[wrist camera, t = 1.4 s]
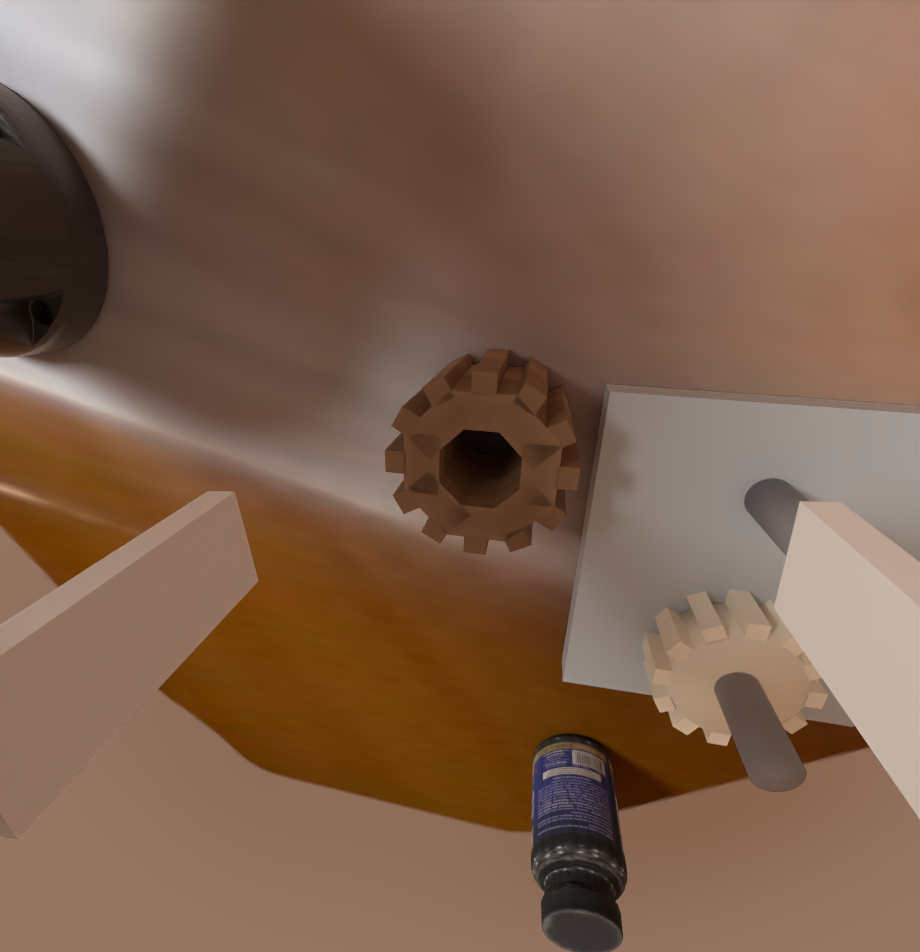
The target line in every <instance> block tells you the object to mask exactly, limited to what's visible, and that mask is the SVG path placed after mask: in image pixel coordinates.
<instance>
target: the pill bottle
mask: <svg viewBox="0 0 920 952" xmlns="http://www.w3.org/2000/svg"><path fill="white" fill-rule="evenodd" d="M531 868H532V872H533V875H534V878H535V880H536V882H537V884H538V885H539V886H540V888H541V889H542V890H543V891H544V892H545V894H544V896H543V898H542V901H541V908H542V909H541V911H542V912H541V913H542V929H543V932H544V934H545V935H546V936H547V938H548V939H549V940H550V941H552V942H553V943H554V944H556V945H558V946H559V947H561V948H564V949H566V950H569V951H572V952H610V951H613V950H615V949H616V948H618V947H619V945H620V944H621V942H622V939H623V932H622V922H621V913H620V911H619V907H618V904H617V903H616V902H615V901H616V900H617V899H618V898H619V897H620V896H621V894H622V893H623V891H624V890H625V886H626V882H627V871H626V870H627V869H626V862H625V856H624V850H623V842H622V834H621V828H620V820H619V813H618V806H617V799H616V791H615V784H614V777H613V770H612V764H611V761H610V759H609V757H608V755H607V754H606V752H605V751H604V750H603V749H602V748H601V747H600V746H599V745H597V744H596V743H594V742H592V741H590V740H588V739H586V738H584V737H579V736H575V735H558V736H555V737H552V738H548V739H547V740H545V741H543V742H542V743H541V744H540V745H539V746H538V748H536V751H535V754H534V756H533V783H532V838H531Z"/></svg>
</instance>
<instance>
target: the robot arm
mask: <svg viewBox="0 0 920 952" xmlns="http://www.w3.org/2000/svg"><path fill="white" fill-rule="evenodd" d="M106 279H107V257H106V247H105V240H104V235H103V230H102V225H101V222H100V218H99V215H98V211H97V208H96V205H95V203H94V200H93V197H92V195H91V192H90V190H89V188H88V185H87V183H86V181H85V179H84V177H83V175H82V173H81V171H80V169H79V168H78V166H77V164H76V162H75V161H74V159H73V157H72V156H71V154H70V153H69V151H68V149H67V148H66V147H65V145H64V144H63V142H62V141H61V139H60V138H59V137H58V136H57V134H56V133H55V132H54V131H53V129H52V128H51V127H50V126H49V125H48V124H47V122H46V121H45V120H44V119H43V118H42V117H41V116H40V115H39V114H38V113H37V112H36V111H35V110H34V109H33V108H32V107H31V106H30V105H29V104H28V103H26V102H25V101H24V100H23V99H22V98H20V97H19V96H18V95H17V94H15V93H14V92H12V91H11V90H10V89H8V88H7V87H5V86H3V85H2V84H0V357H20V356H27V355H33V354H40V353H47V352H53V351H57V350H60V349H63V348H65V347H67V346H69V345H71V344H73V343H74V342H76V341H77V340H78V339H80V338H81V337H82V336H83V335H84V334H85V333H86V332H87V331H88V329H89V328H90V327H91V325H92V324H93V322H94V320H95V319H96V317H97V315H98V313H99V310H100V307H101V305H102V301H103V298H104V293H105V288H106ZM257 582H258V578H257V574H256V570H255V567H254V563H253V559H252V555H251V552H250V548H249V544H248V540H247V536H246V533H245V529H244V525H243V521H242V518H241V514H240V510H239V506H238V502H237V499H236V495H235V492H232V491H207V492H206V493H204V494H203V495H201V496H200V497H198V498H197V499H195V500H193V501H192V502H190V503H189V504H187V505H186V506H184V507H183V508H181V509H179V510H178V511H176V512H175V513H173V514H172V515H170V516H169V517H167V518H165V519H164V520H162V521H161V522H159V523H158V524H156V525H155V526H153V527H151V528H150V529H148V530H147V531H145V532H144V533H142V534H141V535H139V536H137V537H136V538H134V539H133V540H131V541H130V542H128V543H127V544H125V545H123V546H122V547H120V548H119V549H117V550H116V551H114V552H113V553H111V554H109V555H108V556H106V557H105V558H103V559H102V560H100V561H99V562H97V563H95V564H94V565H92V566H91V567H89V568H88V569H86V570H85V571H83V572H81V573H80V574H78V575H77V576H75V577H74V578H72V579H71V580H69V581H67V582H66V583H64V584H63V585H61V586H60V587H58V588H57V589H55V590H53V591H52V592H50V593H49V594H47V595H46V596H44V597H43V598H41V599H39V600H38V601H36V602H35V603H33V604H32V605H30V606H29V607H27V608H26V609H24V610H22V611H21V612H19V613H18V614H16V615H15V616H13V617H11V618H10V619H8V620H7V621H5V622H4V623H2V624H1V625H0V836H2V837H8V838H14V839H18V838H19V837H20V836H21V835H22V834H23V833H24V832H25V831H26V830H27V829H28V828H29V826H30V825H31V824H32V823H33V822H34V821H35V820H36V819H37V818H38V817H39V816H40V815H41V813H42V812H43V811H44V810H45V809H46V808H47V807H48V806H49V805H50V804H51V803H52V802H53V801H54V800H55V799H56V797H57V796H58V795H59V794H60V793H61V792H62V791H63V790H64V789H65V788H66V787H67V786H68V785H69V784H70V783H71V781H72V780H73V779H74V778H75V777H76V776H77V775H78V774H79V773H80V772H81V771H82V770H83V769H84V767H85V766H86V765H87V764H88V763H89V762H90V761H91V760H92V759H93V758H94V757H95V755H97V754H98V753H99V751H100V750H101V749H102V748H103V747H104V746H105V745H106V744H107V743H108V742H109V741H110V740H111V738H112V737H113V736H114V735H115V734H116V733H117V732H118V731H119V730H120V729H121V728H122V727H123V726H124V725H125V724H126V722H127V721H128V720H129V719H130V718H131V717H132V716H133V715H134V714H135V713H136V712H137V711H138V710H139V708H140V707H141V706H142V705H143V704H144V703H145V702H146V701H147V700H148V699H149V698H150V697H151V696H152V695H153V693H154V692H155V691H156V690H157V689H158V688H159V687H160V686H161V685H162V684H163V683H164V682H165V681H166V680H167V679H168V677H169V676H170V675H171V674H172V673H173V672H174V671H175V670H176V669H177V668H178V667H179V666H180V665H181V664H182V662H183V661H184V660H185V659H186V658H187V657H188V656H189V655H190V654H191V653H192V652H193V651H194V650H195V648H196V647H197V646H198V645H199V644H200V643H201V642H202V641H203V640H204V639H205V638H206V637H207V636H208V635H209V633H210V632H211V631H212V630H213V629H214V628H215V627H216V626H217V625H218V624H219V623H220V622H221V621H222V620H223V618H224V617H225V616H226V615H227V614H228V613H229V612H230V611H231V610H232V609H233V608H234V607H235V606H236V605H237V603H238V602H239V601H240V600H241V599H242V598H243V597H244V596H245V595H246V594H247V593H248V592H249V591H250V590H251V588H252V587H253V586H254V585H255V584H256V583H257ZM774 609H775V611H776V612H777V614H778V615H779V617H780V618H781V620H782V621H783V622H784V624H785V625H786V627H787V628H788V630H789V631H790V633H791V634H792V635H793V637H794V638H795V640H796V641H797V643H798V644H799V646H800V647H801V648H802V650H803V651H804V653H805V654H806V656H807V657H808V659H809V660H810V661H811V663H812V664H813V666H814V667H815V669H816V670H817V672H818V673H819V674H820V676H821V677H822V679H823V680H824V682H825V683H826V685H827V686H828V687H829V689H830V690H831V692H832V693H833V695H834V696H835V698H836V699H837V700H838V702H839V703H840V705H841V706H842V708H843V709H844V711H845V712H846V713H847V715H848V716H849V718H850V719H851V721H852V722H853V724H854V725H855V726H856V728H857V729H858V731H859V732H860V734H861V735H862V737H863V738H864V739H865V741H866V742H867V744H868V745H869V747H870V748H871V750H872V751H873V753H874V754H875V755H876V757H877V758H878V760H879V761H880V763H881V764H882V766H883V767H884V768H885V770H886V771H887V773H888V774H889V776H890V777H891V778H892V780H893V781H894V783H895V784H896V786H897V787H898V788H899V790H900V791H901V793H902V794H903V796H904V797H905V799H906V800H907V802H908V803H909V805H910V806H911V807H912V809H913V810H914V812H915V813H916V814H917V816H918V818H919V819H920V562H919V561H918V560H916V559H915V558H914V557H912V556H911V555H910V554H908V553H907V552H906V551H904V550H903V549H902V548H901V547H899V546H898V545H897V544H895V543H894V542H893V541H891V540H890V539H889V538H887V537H886V536H885V535H883V534H882V533H881V532H880V531H878V530H877V529H876V528H874V527H873V526H872V525H870V524H869V523H868V522H866V521H865V520H864V519H862V518H861V517H860V516H859V515H857V514H856V513H855V512H853V511H852V510H851V509H849V508H848V507H847V506H845V505H844V504H843V503H841V502H812V501H800V503H799V507H798V511H797V515H796V519H795V523H794V527H793V531H792V535H791V539H790V544H789V548H788V552H787V556H786V560H785V564H784V568H783V572H782V576H781V580H780V585H779V589H778V593H777V597H776V601H775V605H774Z"/></svg>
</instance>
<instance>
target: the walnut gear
mask: <svg viewBox="0 0 920 952" xmlns="http://www.w3.org/2000/svg"><path fill="white" fill-rule="evenodd" d="M509 351H510V350H501V349H489V351H488V352H487V353H486V354H485V356H484V357H483V358H482V360H481V361H480V362H479V363H478V364H473V362H472V360H471V358H470V356H469V354H466V355H464V356H462V357H460V358H458V359H456V360H455V361H453V362H451V363H450V364H449V365H448V366H447V367H445V368H444V369H443V370H442V371H441V372H440V373H439V374H438V375H436V376H435V377H434V378H433V379H432V380H431V381H430V382H429V383H427V384H426V385H425V386H424V387H423V388H422V390H420V391H419V392H418V393H417V394H416V395H415V396H414V397H413V398H412V399H410V400H409V401H408V402H407V403H406V404H405V405H404V406H403V407H402V408H401V410H400V412H399V414H398V415H397V417H396V419H395V420H394V422H393V424H392V426H393V427H394V428H396V429H397V430H399V431H400V432H402V433H401V434H400V435H399V436H398V437H397V438H396V439H395V440H394V441H393V442H392V443H391V444H390V446H389V447H388V448H387V449H386V450H385V462H386V472H394V473H404V480H403V482H402V483H401V485H400V486H399V487H398V489H397V490H396V492H395V493H394V495H393V496H394V498H395V500H396V501H397V503H398V505H399V506H400V508H401V510H402V511H403V513H404V514H405V513H407V512H410V511H412V510H415V509H417V508H419V507H420V508H421V509H422V510H423V511H424V512H425V513H426V514H427V515H428V517H429V518H428V520H427V522H426V524H425V526H424V528H423V530H422V532H423V533H424V534H426V535H427V536H429V537H430V538H432V539H434V540H435V541H437V542H438V543H441V541H442V540H443V539H444V537H445V536H446V535H447V534H448V535H456V536H464V552H467V553H475V554H484V555H486V550H487V546H488V541H489V539H490V540H499V541H505V543H506V544H507V546H508V548H509V550H510V552H512V551H515V550H518V549H521V548H524V547H526V546H529V545H531V540H532V523H533V522H534V521H538V522H539V523H541V524H542V525H544V526H546V527H547V528H549V529H550V530H553V529H554V528H555V527H556V526H557V524H558V523H559V522H560V521H561V520H562V519H563V518H564V516H565V515H566V504H565V492H564V490H572V491H577V488H578V482H579V475H580V463H579V458H578V452H577V447H576V442H577V441H576V436H575V430H574V425H573V420H572V414H571V409H570V403H569V401H568V399H567V396H566V394H565V392H564V390H563V388H562V386H560V387H558V388H555V389H553V390H551V391H549V392H548V385H547V368H546V367H544V366H543V365H541V364H540V363H539V362H537V361H536V360H534V359H533V358H530V360H529V361H528V363H527V364H526V366H525V367H511V366H508V364H509ZM464 429H466V430H477V431H489V432H499V433H500V434H501V435H502V436H503V437H504V438H505V439H506V441H507V442H508V443H509V444H510V445H511V446H512V447H513V448H514V451H513V452H512V453H511V454H509V455H508V456H507V457H505V458H504V457H494V456H483V455H479V454H478V453H477V452H476V451H475V449H474V448H473V447H472V446H471V445H470V444H469V443H468V442H467V441H466V440H465V439H464V437H463V430H464Z"/></svg>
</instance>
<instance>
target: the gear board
mask: <svg viewBox="0 0 920 952" xmlns="http://www.w3.org/2000/svg"><path fill="white" fill-rule="evenodd" d="M800 501H812V502H841V503H843V504H844V505H845V506H847V507H848V508H849V509H851V510H852V511H853V512H855V513H856V514H857V515H859V516H860V517H861V518H862V519H864V520H865V521H866V522H868V523H869V524H870V525H872V526H873V527H874V528H876V529H877V530H878V531H880V532H881V533H882V534H883V535H885V536H886V537H887V538H889V539H890V540H891V541H893V542H894V543H895V544H897V545H898V546H899V547H901V548H902V549H903V550H904V551H906V552H907V553H908V554H910V555H911V556H912V557H914V558H915V559H916V560H918V561H919V562H920V406H918V405H904V404H890V403H875V402H861V401H846V400H832V399H818V398H803V397H789V396H774V395H760V394H746V393H731V392H717V391H702V390H688V389H674V388H659V387H645V386H630V385H616V384H606V386H605V392H604V398H603V405H602V411H601V417H600V423H599V430H598V436H597V442H596V448H595V455H594V461H593V467H592V474H591V480H590V486H589V492H588V499H587V505H586V511H585V518H584V524H583V530H582V536H581V543H580V549H579V555H578V562H577V568H576V574H575V580H574V587H573V593H572V599H571V606H570V612H569V618H568V624H567V631H566V637H565V643H564V649H563V656H562V675H563V681H564V682H570V683H577V684H583V685H589V686H596V687H602V688H608V689H615V690H621V691H628V692H634V693H640V694H647V695H652V696H653V700H654V702H655V704H656V706H657V708H658V710H659V712H660V713H661V712H666V711H668V712H669V715H670V719H671V723H672V726H673V727H675V728H676V729H678V730H679V731H681V732H683V733H684V734H686V735H688V734H690V733H691V732H692V731H694V730H695V729H697V728H698V727H700V728H702V729H703V732H704V734H705V737H706V740H707V743H712V744H718V745H724V746H727V744H728V742H729V739H730V736H731V735H732V737H733V739H734V742H735V744H736V747H737V749H738V752H739V754H740V756H741V759H742V761H743V764H744V766H745V769H746V771H747V774H748V776H749V779H750V780H751V782H752V783H753V784H754V785H755V786H757V787H759V788H761V789H763V790H767V791H772V792H782V791H788V790H792V789H794V788H796V787H798V786H799V785H801V784H802V783H803V782H804V780H805V778H806V769H805V767H804V766H803V764H802V762H801V760H800V758H799V756H798V754H797V752H796V750H795V749H794V747H793V745H792V743H791V741H790V739H789V737H788V735H787V733H786V731H788V732H789V733H791V734H793V733H795V732H796V731H798V730H799V729H801V728H802V727H804V726H806V725H807V724H808V723H807V722H806V720H812V721H819V722H825V723H831V724H838V725H844V726H851V727H853V726H854V724H853V722H852V721H851V719H850V718H849V716H848V715H847V713H846V712H845V711H844V709H843V708H842V706H841V705H840V703H839V702H838V700H837V699H836V698H835V696H834V695H833V693H832V692H831V690H830V689H829V687H828V686H827V685H826V683H825V682H824V680H823V679H822V677H821V676H820V674H819V673H818V672H817V670H816V669H815V667H814V666H813V664H812V663H811V661H810V660H809V659H808V657H807V656H806V654H805V653H804V651H803V650H802V648H801V647H800V646H799V644H798V643H797V641H796V640H795V638H794V637H793V635H792V634H791V633H790V631H789V630H788V628H787V627H786V625H785V624H784V622H783V621H782V620H781V618H780V617H779V615H778V614H777V612H776V611H775V609H774V605H775V601H776V597H777V593H778V589H779V585H780V580H781V576H782V572H783V568H784V564H785V560H786V556H787V552H788V548H789V544H790V539H791V535H792V531H793V527H794V523H795V519H796V515H797V511H798V507H799V503H800ZM805 719H806V720H805ZM784 729H785V730H786V731H785V730H784Z"/></svg>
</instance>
